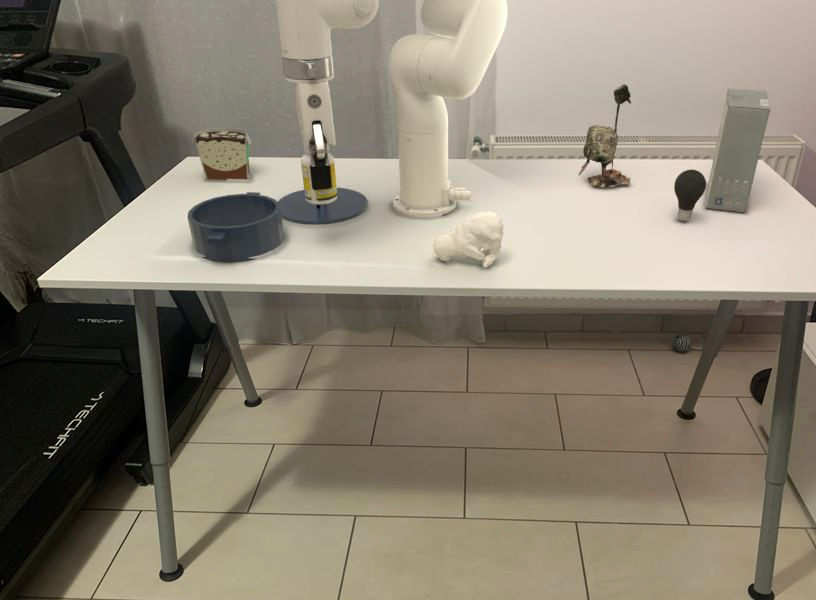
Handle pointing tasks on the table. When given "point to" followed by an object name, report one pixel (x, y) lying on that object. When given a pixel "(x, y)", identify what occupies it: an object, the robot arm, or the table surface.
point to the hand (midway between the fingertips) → (319, 181)
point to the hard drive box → (737, 149)
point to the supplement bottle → (310, 194)
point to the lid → (322, 207)
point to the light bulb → (688, 192)
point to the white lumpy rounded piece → (473, 239)
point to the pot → (236, 227)
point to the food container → (223, 153)
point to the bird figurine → (605, 147)
